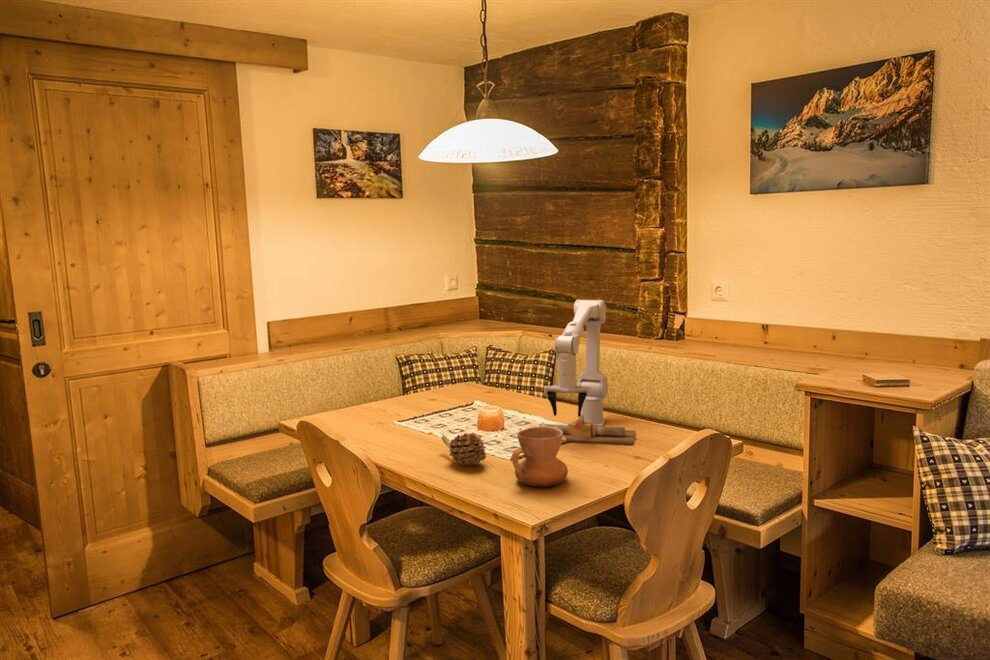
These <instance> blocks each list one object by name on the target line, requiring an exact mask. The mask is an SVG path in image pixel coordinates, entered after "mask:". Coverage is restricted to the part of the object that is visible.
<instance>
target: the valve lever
mask: <svg viewBox="0 0 990 660" xmlns="http://www.w3.org/2000/svg"><path fill="white" fill-rule="evenodd" d="M576 420H577V421H576V423H575V429H581V428H582V426H583V422H584V415H582V414H581V416H580V417H578V419H576Z"/></svg>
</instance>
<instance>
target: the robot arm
mask: <svg viewBox="0 0 990 660" xmlns="http://www.w3.org/2000/svg"><path fill="white" fill-rule="evenodd" d="M606 313H607V306H606V302H605V301H604V300H603V299H579V298H578V299H576V300H575V302H574V305H573V314H574V317H573V319H572V321H570V322H568V323H567V325H566V327H565V329H564V330H563V332H562V334H561V335H558V336H557V337H556V338H555V340H554V351H555V354H556V355H555V358H556V360H557V385H556V384H555V385H544V386H543V393H544V394H547V395H546V397H547V399H548V401H549V403H550V405H551V409H552V412H553V416H554V417H556V416H557V413H558V410H557V408H558V407H557V396H558V395H557V394H577V399H578V400H577V401H578V402H577V404H578V407H577V409H578V410H577V417H578V418H579V417H580V416H581V415H584V421H592V424H594V425H596V426H604V424H605V420H606V418H605V417H604V399H606V397H608V396H607V395H608V392H609V385H608V377H607V375H606V374H604V373H603V372H602V371H601V370H600V362H601V361H600V359H601V358H600V357H601V356H600V353H601V352H600V351H601V349H600V347H601V325H603V324H604V323H606V320H607V318H606V316H607V315H606ZM584 326H585V327H586V331H584V329H585V328H584ZM584 332H586V333H585V371H583V372H581V373H580V374H579V375H578V378H577V354H578V352H579V350H580V349H579V347H580V343H581V338H582V336H583V334H584ZM577 380H578V381H577Z"/></svg>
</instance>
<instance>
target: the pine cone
mask: <svg viewBox="0 0 990 660" xmlns="http://www.w3.org/2000/svg"><path fill="white" fill-rule="evenodd" d="M441 439H442V440H441V441H442V442H443V443H444V445H446V447H448V448H449V449H448V452H449V454H448V456H451V457H452V461H453V462H456V463H459V464H460V465H467V466H473V465H479V464H480V463H481V461H482V462H484V460H485V459H486V458H487V453H485V451H486V448H487V446H485V444H486V442H484V440H483V439H482V436H479V437H478V435H477V434H476V433H474V432H471V433H467V432H465V433H463V434H461V435H459V434H458V435H457V436H456V437H454V438H453V439H451V441H450V442H449V439H448V437H447V436H446V435H445V434H443V435H442V436H441Z"/></svg>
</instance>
